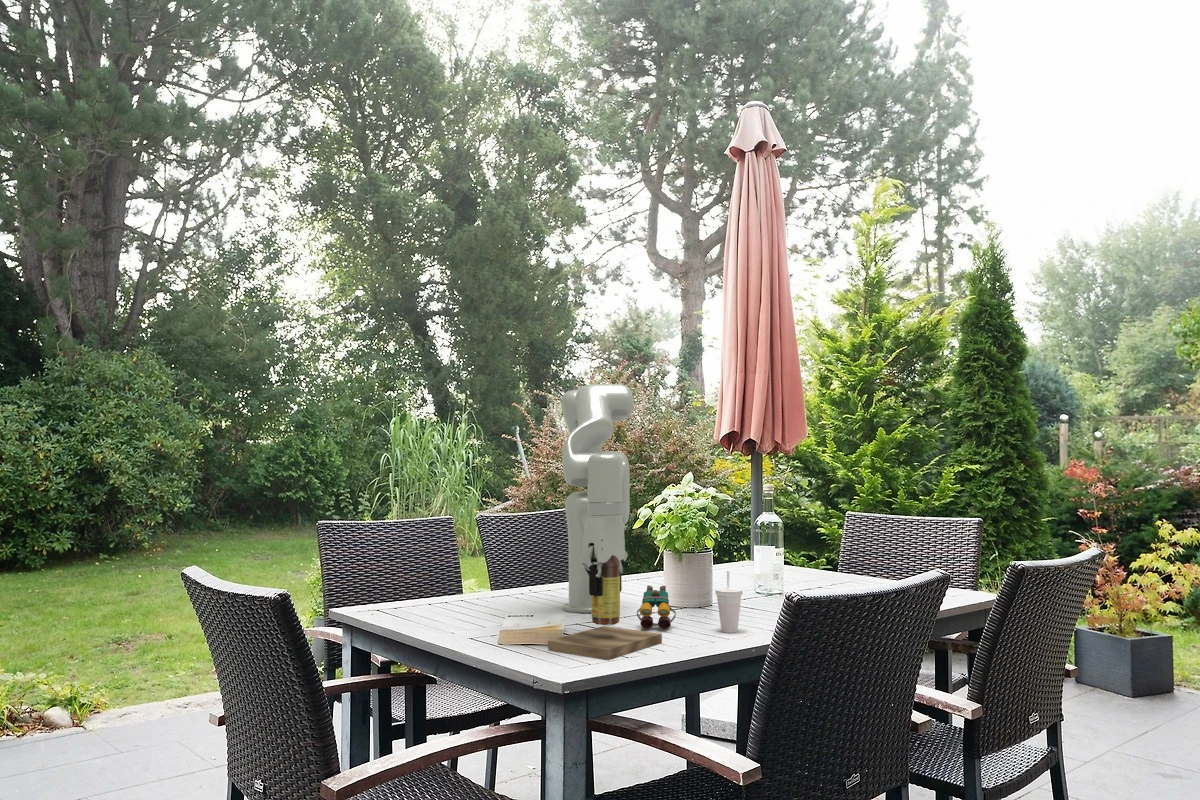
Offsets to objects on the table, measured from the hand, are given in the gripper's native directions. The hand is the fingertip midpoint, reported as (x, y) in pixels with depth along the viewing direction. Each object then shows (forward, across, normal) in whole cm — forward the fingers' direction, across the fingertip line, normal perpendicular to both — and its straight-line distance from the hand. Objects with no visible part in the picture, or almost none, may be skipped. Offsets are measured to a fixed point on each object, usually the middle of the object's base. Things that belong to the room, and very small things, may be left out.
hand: (605, 592), depth 196 cm
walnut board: (+12, 0, 0) cm, 12 cm away
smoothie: (+12, -30, +14) cm, 35 cm away
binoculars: (+12, -23, -2) cm, 26 cm away
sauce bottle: (+7, 0, 0) cm, 7 cm away
